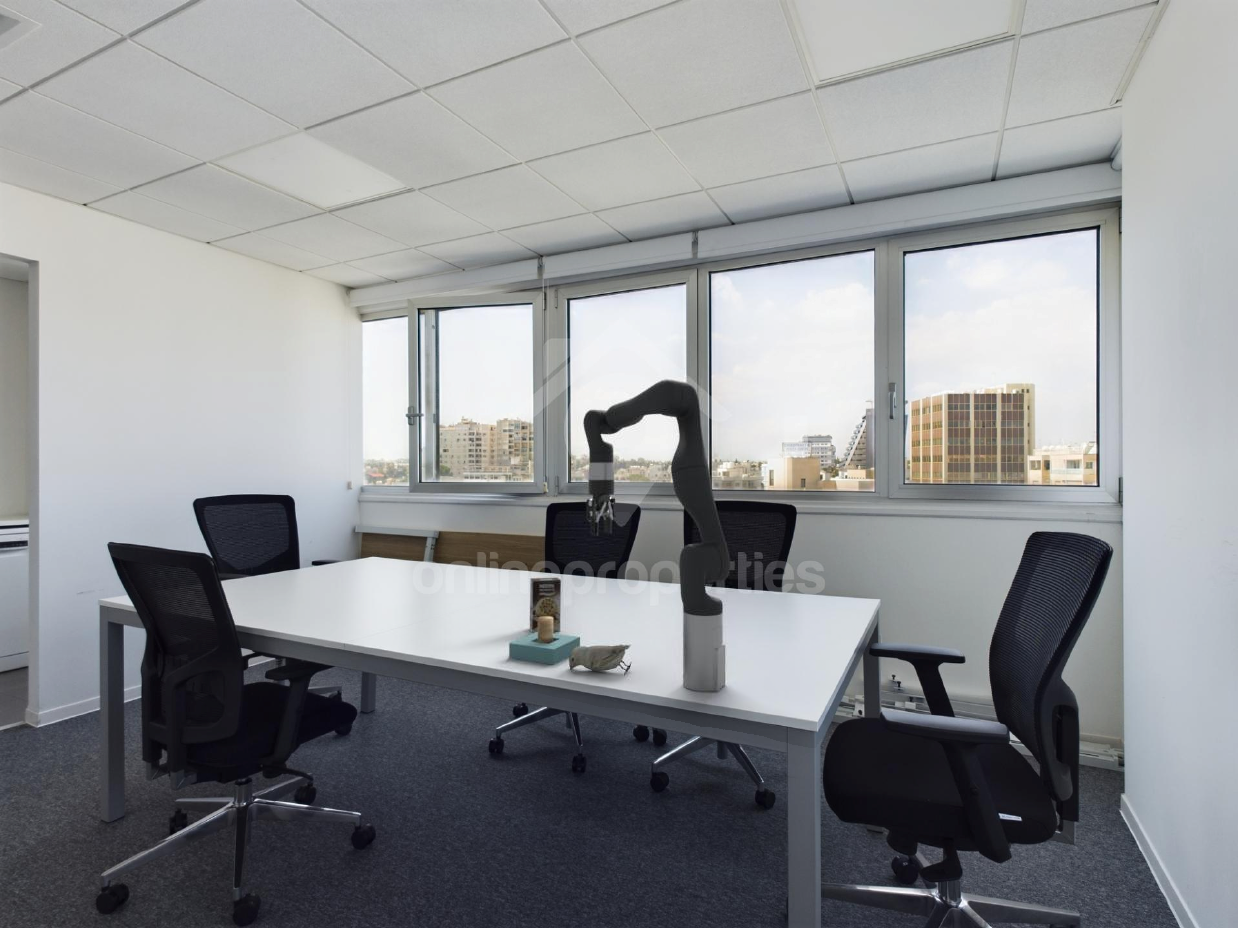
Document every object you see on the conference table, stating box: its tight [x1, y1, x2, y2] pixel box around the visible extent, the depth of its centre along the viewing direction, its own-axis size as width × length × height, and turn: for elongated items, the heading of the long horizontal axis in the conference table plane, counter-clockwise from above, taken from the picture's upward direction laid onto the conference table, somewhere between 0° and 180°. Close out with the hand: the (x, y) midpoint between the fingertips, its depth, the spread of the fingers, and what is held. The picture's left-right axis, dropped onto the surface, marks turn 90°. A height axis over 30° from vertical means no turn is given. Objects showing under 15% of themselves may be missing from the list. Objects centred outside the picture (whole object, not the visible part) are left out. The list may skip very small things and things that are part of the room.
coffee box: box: [529, 577, 562, 633], centre depth 206 cm, size 9×6×16 cm
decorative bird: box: [568, 644, 633, 677], centre depth 163 cm, size 5×16×8 cm, turn 75°
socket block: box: [508, 632, 581, 666], centre depth 177 cm, size 14×14×4 cm
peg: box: [538, 616, 554, 644], centre depth 178 cm, size 4×4×10 cm
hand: (601, 534), depth 188 cm, fingers open, 8 cm apart
